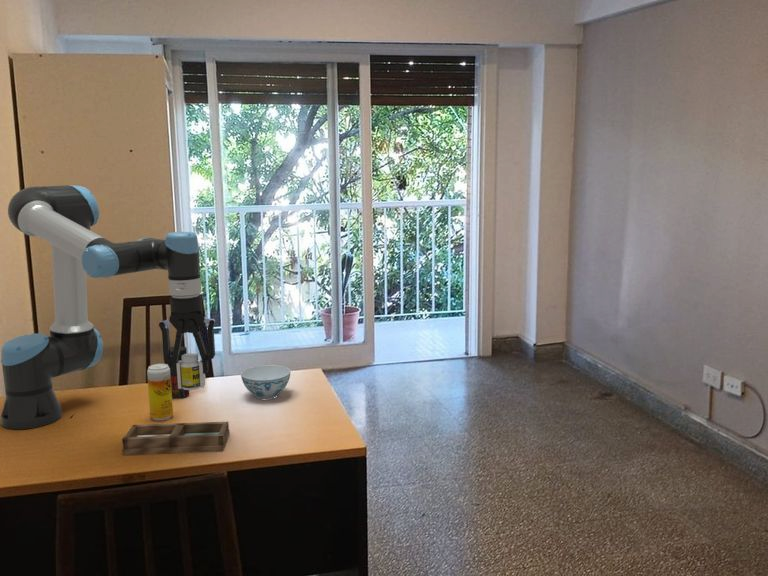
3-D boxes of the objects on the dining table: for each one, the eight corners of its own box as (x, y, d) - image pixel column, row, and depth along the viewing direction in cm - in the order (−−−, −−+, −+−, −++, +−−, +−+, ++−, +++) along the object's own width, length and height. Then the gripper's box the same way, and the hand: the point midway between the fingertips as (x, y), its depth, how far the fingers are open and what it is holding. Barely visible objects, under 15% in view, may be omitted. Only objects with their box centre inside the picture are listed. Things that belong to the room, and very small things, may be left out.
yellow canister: (166, 422, 185) (162, 370, 182) (146, 420, 186) (142, 369, 184) (177, 414, 191) (173, 363, 188) (157, 412, 192) (154, 362, 190)
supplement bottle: (195, 391, 165) (193, 358, 164) (178, 389, 166) (175, 357, 165) (205, 385, 170) (202, 353, 168) (188, 383, 171) (186, 352, 169)
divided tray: (122, 454, 164) (121, 440, 164) (135, 437, 175) (133, 423, 175) (223, 451, 166) (222, 437, 166) (229, 433, 177) (228, 420, 176)
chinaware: (258, 408, 195) (257, 383, 194) (232, 395, 206) (231, 371, 205) (300, 396, 205) (300, 372, 204) (274, 385, 216) (273, 362, 215)
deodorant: (169, 393, 208) (166, 347, 206) (189, 391, 210) (186, 345, 207) (169, 399, 203) (166, 352, 200) (189, 397, 205) (186, 350, 202)
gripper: (144, 299, 159) (152, 393, 163) (220, 297, 161) (226, 389, 165) (151, 293, 167) (158, 383, 171) (224, 291, 168) (229, 380, 173)
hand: (191, 386), depth 168 cm, fingers closed on supplement bottle, 5 cm apart
